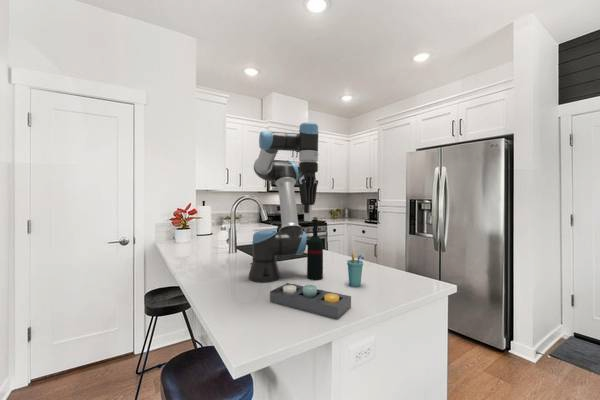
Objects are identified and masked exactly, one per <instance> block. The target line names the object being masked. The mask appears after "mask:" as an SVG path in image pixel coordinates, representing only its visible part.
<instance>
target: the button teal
mask: <svg viewBox="0 0 600 400" xmlns="http://www.w3.org/2000/svg"><path fill="white" fill-rule="evenodd" d="M302 286H303V296H306V297H310V298H314V297H316V296H317V289H318V288H317V287H318V286H316V285H313V284H306V285H305V284H304V285H302Z"/></svg>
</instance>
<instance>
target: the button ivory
mask: <svg viewBox="0 0 600 400" xmlns="http://www.w3.org/2000/svg"><path fill="white" fill-rule="evenodd" d="M284 285H285V284H284ZM283 291H284V292H288V293H294V292H295V291H296V286H294V285H285V286H283Z"/></svg>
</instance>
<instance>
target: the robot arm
mask: <svg viewBox="0 0 600 400" xmlns="http://www.w3.org/2000/svg"><path fill="white" fill-rule="evenodd" d="M319 133H320V132H319V126H318V124H317V123H316V122H308V121H307V122H302V123H300V125H299V128H298V133H297V132H282V131H281V132H280V131H270V130H267V131H266V130H263V131H260V132H259V135H258V136H259V138H258V146H259V149H260V150H259V155H258V158H256V159H255V160H254V163H253V171H254V173H255V174H256V176H258V178H260V179H261V180H264V181H266V182H267V181H268V182H274V183H275V184H274V185H275V186H276V187H278V197H279V198H278V199H279V209H280V219H281V227H280V228H279V232H278V231H277V229H276V228H275V229H274V228H272V229H271V228H270V229H269V228H268V229H262V230H258V231H256V232H254V233H253V234H252V241H251V242H252V263H251V267H250V270H249V272H248V279H249V280H250V281H251V282H256V283H270V282H274V281H277V280H279V279H281V272H280V270H279V269H280V268H279V265H278V262H277V257H280V256H281V257H283V256H298V255H301V256H302V255H304V253H305V252H306V248H307V244H308V238H307V236H308V234H307V232H306V231H304V230H303V227H302V226H301V225H299V218H298V211H297V202H296V194H295V193H296V192H295V185H296V184H298V187H299V190H298V191H299V196H300V203H301V205H302V206H304V207H303V209H304V212H303V221H304V222H313V206H314V205H315V204H316V198H317V189H318V188H317V187H318V185H319V180H316V173H318V171H319V163H318V161H319ZM279 151H290V152H292V151H293V152H296V153H299V154H298V157H299V158H298V160H299V161H298V162H299V163H298V165H297V163H296V162H295V161H293V160H275V158H276V156H277V154H278V152H279ZM299 173H301V175H299ZM299 176H300V178H299Z"/></svg>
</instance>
